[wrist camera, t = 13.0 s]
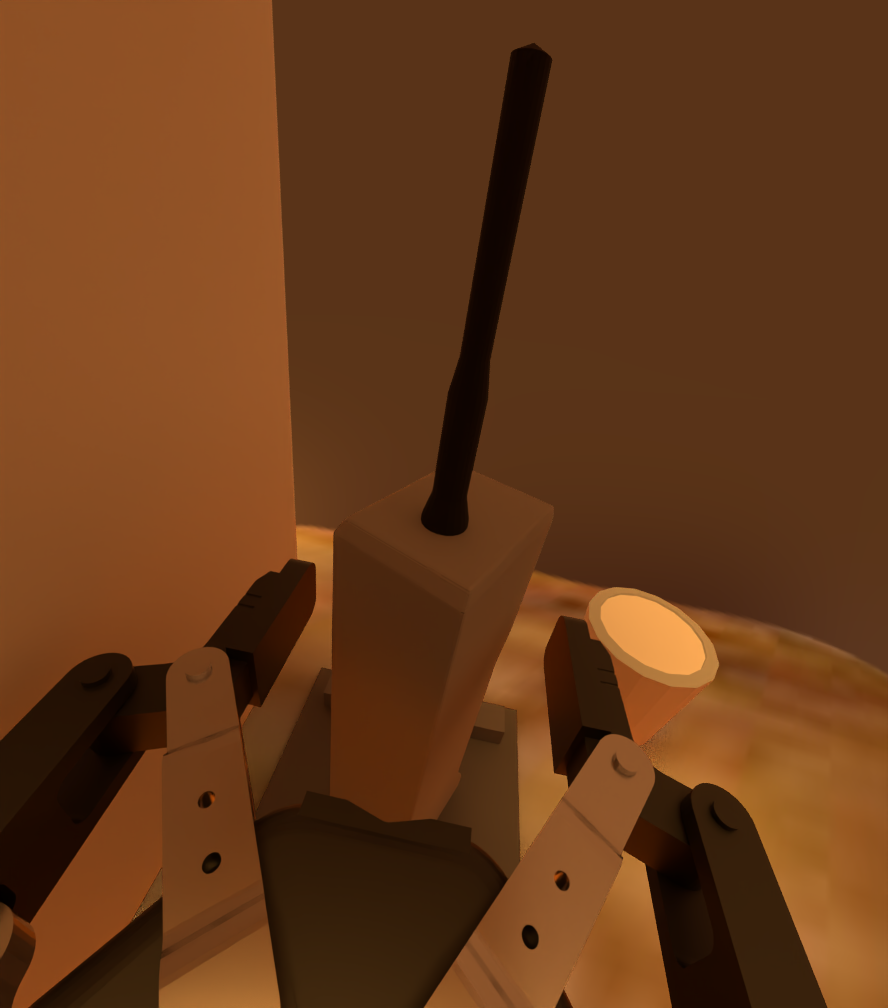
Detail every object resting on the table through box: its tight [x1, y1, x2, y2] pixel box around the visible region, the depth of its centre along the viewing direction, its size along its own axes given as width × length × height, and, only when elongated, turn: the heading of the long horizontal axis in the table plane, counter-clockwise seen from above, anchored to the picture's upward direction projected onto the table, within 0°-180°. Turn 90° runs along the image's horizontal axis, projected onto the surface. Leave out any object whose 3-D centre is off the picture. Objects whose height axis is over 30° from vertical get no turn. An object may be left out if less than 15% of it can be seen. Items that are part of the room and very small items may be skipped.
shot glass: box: [584, 587, 719, 746], centre depth 24 cm, size 7×7×7 cm
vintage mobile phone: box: [330, 43, 554, 822], centre depth 13 cm, size 4×5×25 cm
